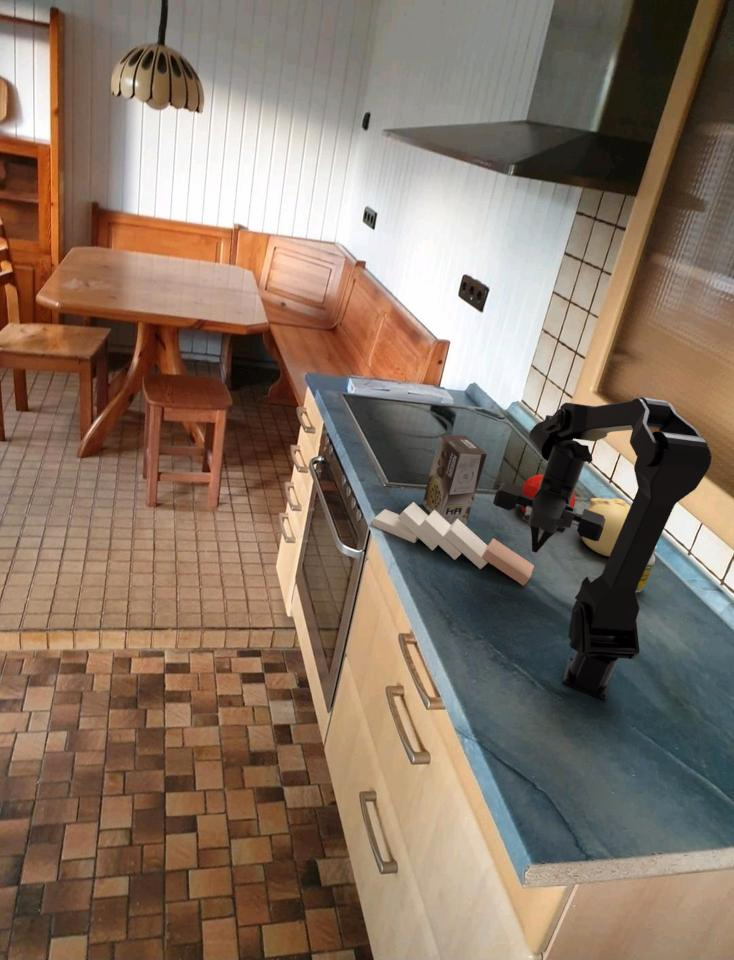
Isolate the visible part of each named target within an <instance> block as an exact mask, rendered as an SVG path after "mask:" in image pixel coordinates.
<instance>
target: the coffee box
mask: <svg viewBox="0 0 734 960" xmlns="http://www.w3.org/2000/svg"><path fill="white" fill-rule="evenodd" d="M437 440H438V441H437V444H436V447H435V452H434V456H433V460H432V463H431V468H430V472H429V477H428V481H427V483H426V488H425V492H424V496H423V499H422V500H423V501H422V506H423V507H424V508H425V509H426V510H427V511H428V512H429V515H430V514H431V513H432V511H433V510H435V511H437V512H438V513H439V514H440V515H441V516H442V517H443V518H444V519H445V520H446V521H447V522H448V523H449V524H450V525H451V524H452V523H453V522H454V521H455V520H456V519H459V520H460V521H461V522H462V523H463V524H464V525H465V526H466V525H467V524H468V518H469V517H470V516H469V515H470V512H471V508H472V506H473V503H474V499H475V496H476V492H477V489H478V486H479V482H480V479H481V476H482V472H483V469H484V466H485V463H486V462H485V461H486V459H487V455H488V454H487V453H486V452H485V451H484V450H483V449H482V448H480V446H478V445H477V444H476V443H474V441H473V440H471V439H470V438H469V437H468V436H466V435H463V434H462V435H459V434H456V435H454V434H452V435H451V434H449V435H438V439H437Z"/></svg>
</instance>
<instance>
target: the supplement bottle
mask: <svg viewBox="0 0 734 960" xmlns="http://www.w3.org/2000/svg"><path fill="white" fill-rule="evenodd" d="M657 545H658V544H657ZM657 545H656V547H655V549H654V551H653V554H652V556H651V558H650V560H649V562H648V564H647V567H646V569H645V571H644V573H643V575H642V578H641V580H640V582H639V584H638V586H637V589H636V594H637V593H640V592H642V591H643V590H644V587H645V586H646V583H647V581H648V578H649V577H650V574H651V572H652V570H653V567H654V565H655V562H656V556H655V555H654V554H655V553H656V551H657V548H658V546H657Z"/></svg>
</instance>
